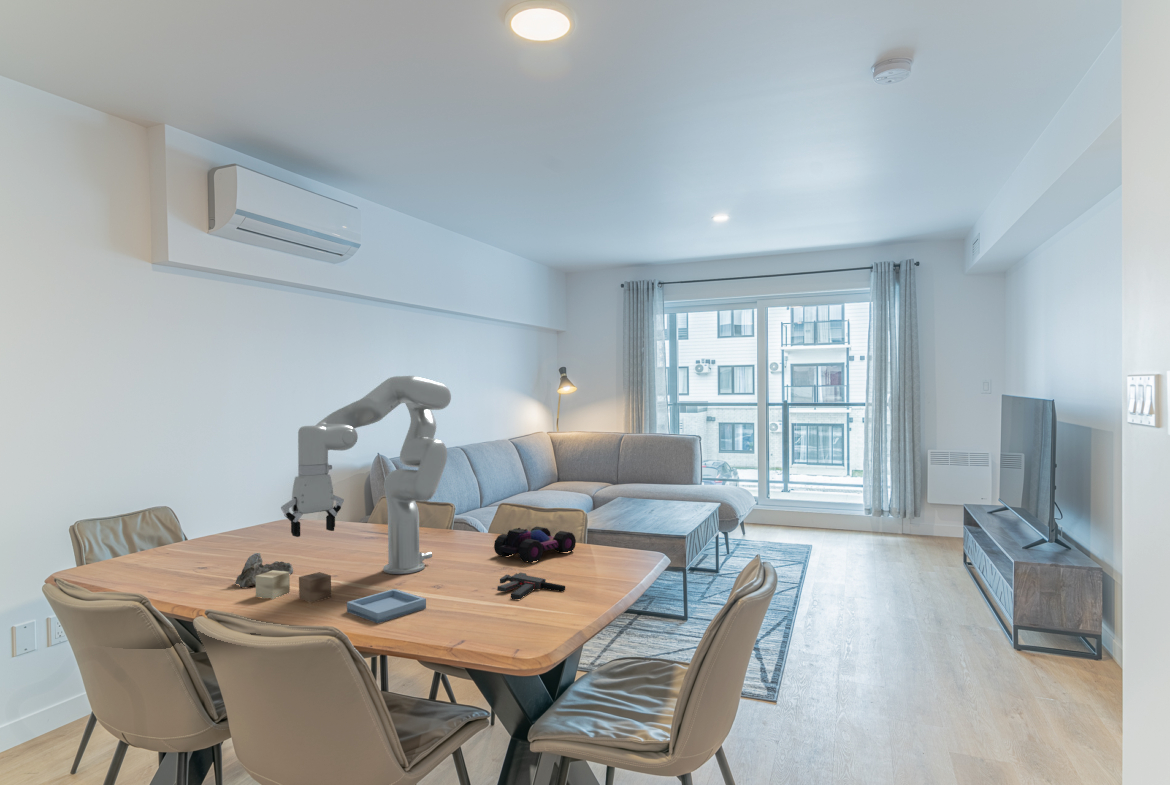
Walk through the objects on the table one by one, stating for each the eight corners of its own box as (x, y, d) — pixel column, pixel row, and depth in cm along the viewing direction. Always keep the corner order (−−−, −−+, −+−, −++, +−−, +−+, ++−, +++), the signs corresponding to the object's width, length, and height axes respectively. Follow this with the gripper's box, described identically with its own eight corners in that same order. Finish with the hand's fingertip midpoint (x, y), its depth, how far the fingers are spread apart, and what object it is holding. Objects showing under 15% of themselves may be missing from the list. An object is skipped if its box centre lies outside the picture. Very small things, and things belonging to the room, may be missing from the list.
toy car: (578, 551, 225) (578, 522, 225) (524, 566, 207) (524, 535, 207) (545, 544, 237) (544, 517, 237) (490, 558, 218) (490, 528, 218)
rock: (250, 587, 185) (243, 553, 187) (227, 596, 189) (221, 563, 192) (303, 575, 201) (296, 544, 203) (281, 584, 205) (275, 554, 208)
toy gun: (546, 598, 169) (569, 580, 182) (484, 586, 176) (510, 569, 190) (546, 610, 169) (569, 590, 183) (484, 597, 176) (510, 579, 190)
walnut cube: (320, 593, 181) (319, 572, 181) (331, 597, 177) (330, 575, 177) (299, 598, 176) (298, 576, 176) (310, 603, 172) (309, 580, 172)
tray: (394, 598, 175) (394, 588, 175) (426, 608, 166) (426, 598, 166) (347, 611, 164) (346, 602, 164) (378, 623, 155) (377, 613, 155)
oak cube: (273, 591, 183) (272, 570, 183) (289, 593, 181) (289, 571, 181) (255, 597, 178) (255, 575, 178) (272, 599, 176) (272, 577, 176)
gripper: (335, 467, 186) (336, 526, 185) (275, 472, 172) (275, 536, 172) (349, 468, 181) (350, 529, 181) (288, 474, 168) (288, 540, 167)
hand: (313, 533), depth 176 cm, fingers open, 9 cm apart
